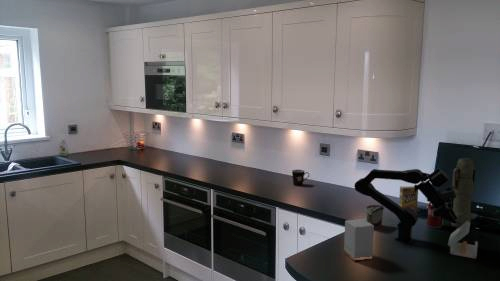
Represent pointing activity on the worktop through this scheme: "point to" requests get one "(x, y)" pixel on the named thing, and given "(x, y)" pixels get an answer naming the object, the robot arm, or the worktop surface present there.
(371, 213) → the food container
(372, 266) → the worktop surface
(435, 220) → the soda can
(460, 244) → the beige tray
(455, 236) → the cover
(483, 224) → the worktop surface
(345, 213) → the worktop surface
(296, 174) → the coffee mug
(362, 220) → the supplement box
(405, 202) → the candy box
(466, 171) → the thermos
